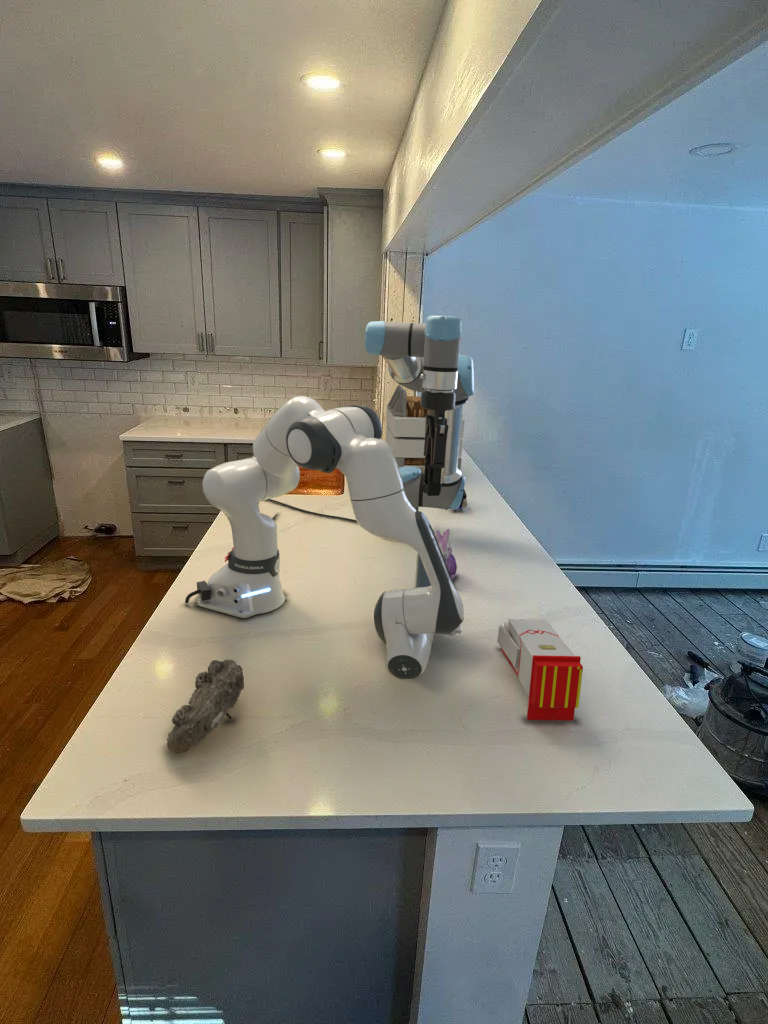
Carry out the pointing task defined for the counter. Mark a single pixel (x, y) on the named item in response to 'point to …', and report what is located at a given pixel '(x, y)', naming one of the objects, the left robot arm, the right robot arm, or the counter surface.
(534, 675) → the toy
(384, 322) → the right robot arm
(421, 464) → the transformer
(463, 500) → the figurine character
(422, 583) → the bottle
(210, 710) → the fossil
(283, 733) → the counter surface
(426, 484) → the cap
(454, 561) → the figurine
